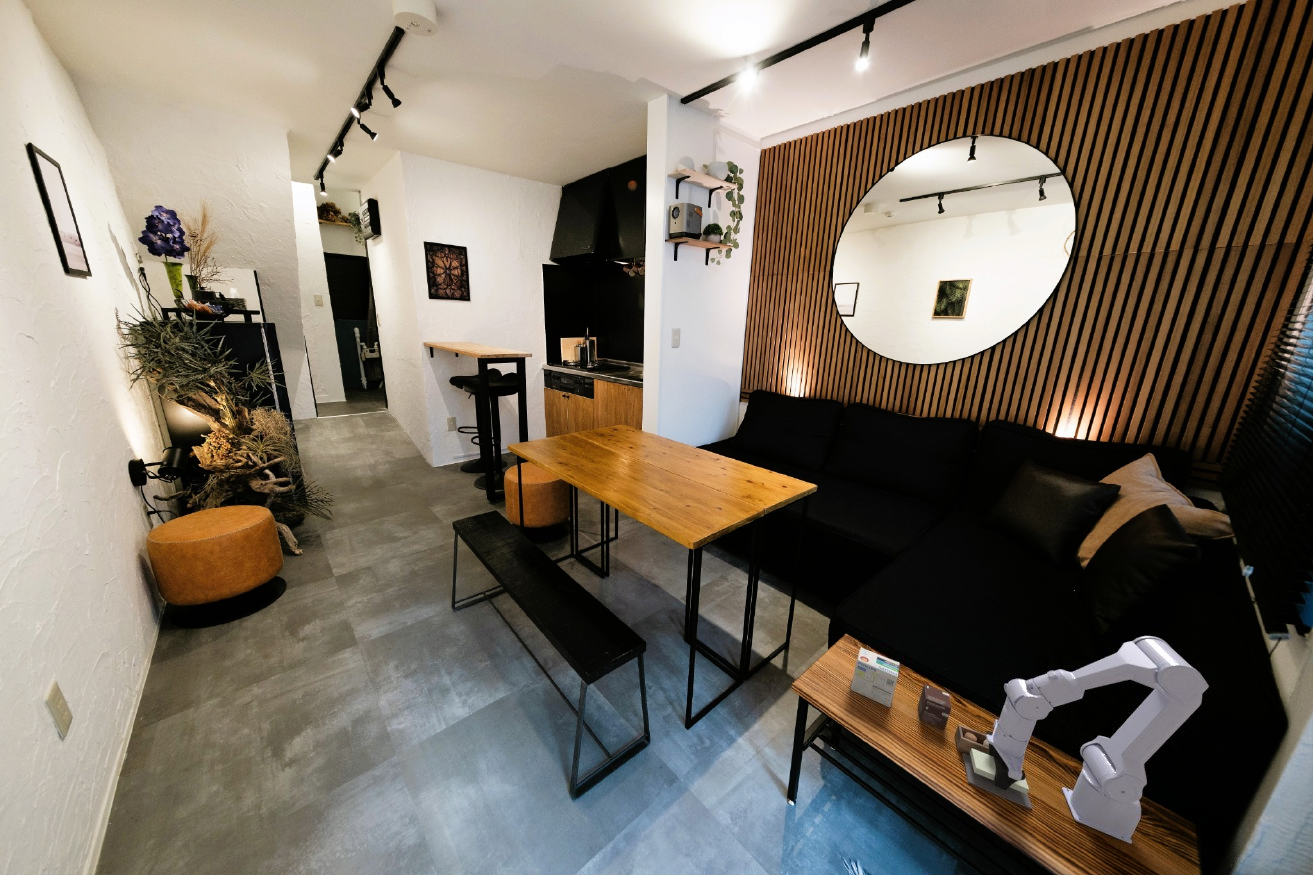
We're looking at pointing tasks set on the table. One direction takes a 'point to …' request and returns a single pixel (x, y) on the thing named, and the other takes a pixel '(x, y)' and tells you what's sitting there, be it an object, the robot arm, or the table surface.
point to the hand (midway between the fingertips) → (996, 775)
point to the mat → (990, 785)
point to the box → (934, 706)
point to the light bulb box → (875, 676)
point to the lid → (992, 769)
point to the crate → (970, 740)
